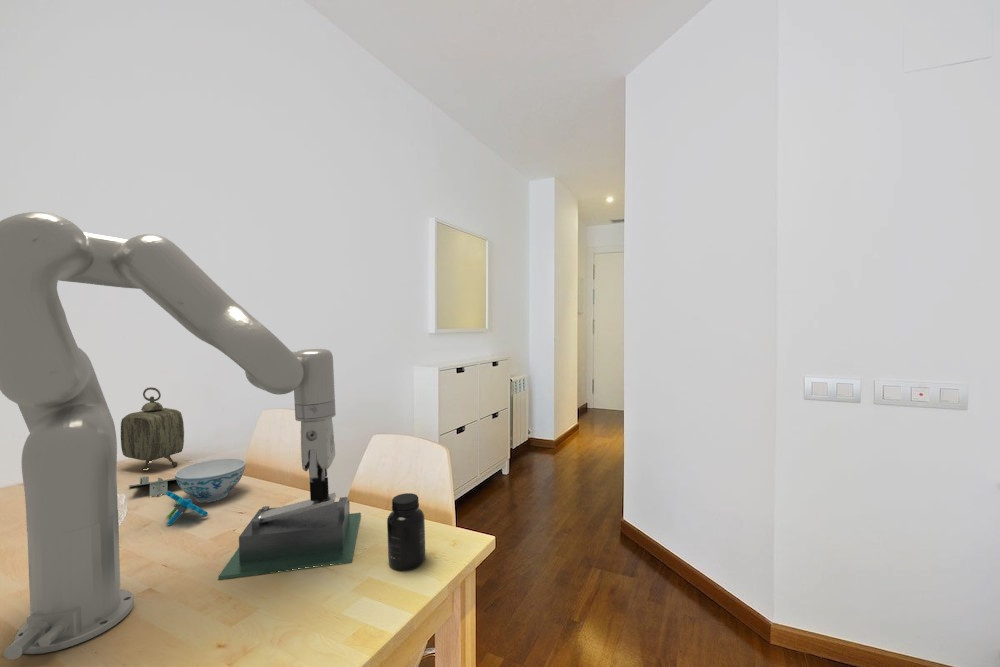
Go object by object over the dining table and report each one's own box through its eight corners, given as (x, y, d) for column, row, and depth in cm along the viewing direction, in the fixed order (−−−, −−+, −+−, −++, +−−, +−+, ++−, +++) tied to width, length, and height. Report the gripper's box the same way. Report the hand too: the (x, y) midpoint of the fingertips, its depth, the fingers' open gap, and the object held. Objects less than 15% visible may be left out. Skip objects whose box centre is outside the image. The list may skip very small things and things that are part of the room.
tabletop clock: (185, 465, 133) (182, 386, 133) (154, 476, 125) (152, 391, 124) (150, 461, 137) (148, 384, 137) (119, 471, 129) (116, 389, 128)
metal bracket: (193, 468, 115) (120, 480, 107) (193, 491, 113) (119, 504, 105) (197, 469, 126) (131, 479, 118) (197, 489, 125) (131, 500, 117)
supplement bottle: (409, 547, 84) (409, 487, 84) (432, 559, 80) (432, 496, 80) (380, 562, 79) (379, 499, 79) (403, 576, 75) (402, 509, 74)
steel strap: (333, 503, 86) (332, 499, 86) (255, 524, 83) (254, 519, 83) (336, 496, 90) (335, 492, 89) (261, 516, 86) (260, 511, 86)
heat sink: (351, 562, 79) (350, 522, 79) (218, 579, 74) (217, 537, 74) (360, 515, 99) (360, 483, 98) (255, 526, 94) (255, 492, 93)
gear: (215, 513, 96) (174, 490, 92) (193, 539, 93) (150, 517, 88) (204, 506, 104) (165, 484, 99) (183, 529, 101) (143, 508, 96)
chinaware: (204, 513, 100) (204, 481, 100) (160, 505, 105) (159, 474, 104) (259, 489, 114) (259, 461, 114) (218, 483, 119) (218, 455, 119)
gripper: (329, 417, 80) (333, 512, 81) (340, 401, 95) (343, 482, 96) (285, 420, 78) (290, 518, 79) (303, 404, 93) (307, 486, 94)
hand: (319, 498), depth 87 cm, fingers closed
